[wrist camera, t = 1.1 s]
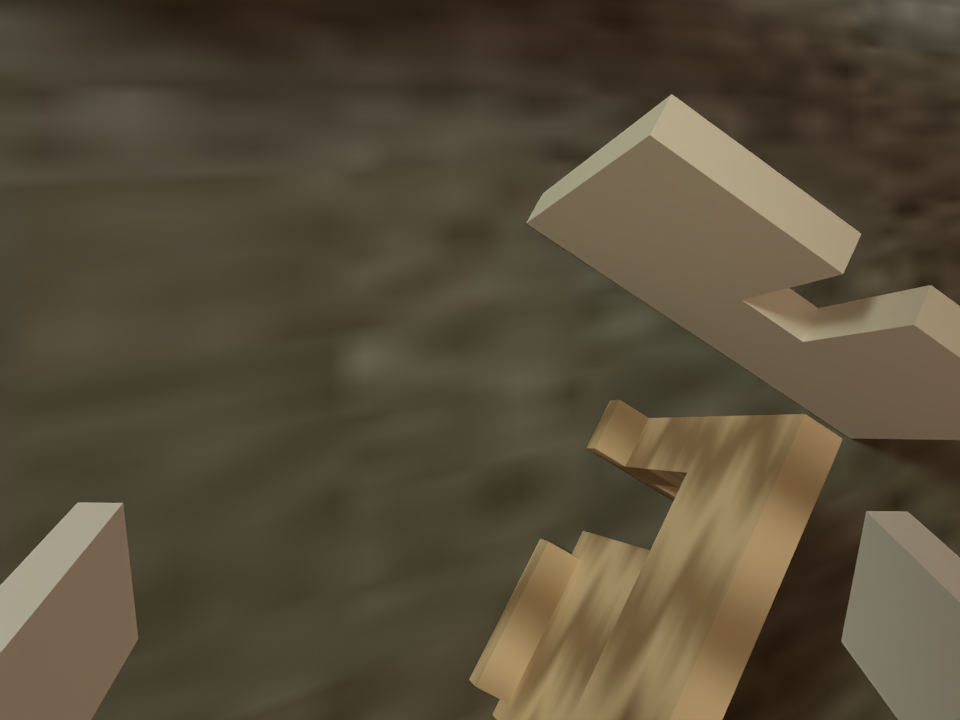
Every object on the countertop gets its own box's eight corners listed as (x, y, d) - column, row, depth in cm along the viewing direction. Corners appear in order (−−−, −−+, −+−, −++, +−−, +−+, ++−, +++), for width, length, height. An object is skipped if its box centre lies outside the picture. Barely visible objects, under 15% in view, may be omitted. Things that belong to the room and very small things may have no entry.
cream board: (525, 223, 44) (649, 135, 31) (542, 193, 45) (671, 94, 32) (849, 438, 49) (1077, 441, 36) (862, 409, 50) (1091, 402, 36)
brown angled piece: (555, 746, 43) (701, 892, 29) (459, 698, 41) (566, 826, 28) (694, 453, 46) (879, 463, 33) (610, 400, 45) (767, 388, 32)
